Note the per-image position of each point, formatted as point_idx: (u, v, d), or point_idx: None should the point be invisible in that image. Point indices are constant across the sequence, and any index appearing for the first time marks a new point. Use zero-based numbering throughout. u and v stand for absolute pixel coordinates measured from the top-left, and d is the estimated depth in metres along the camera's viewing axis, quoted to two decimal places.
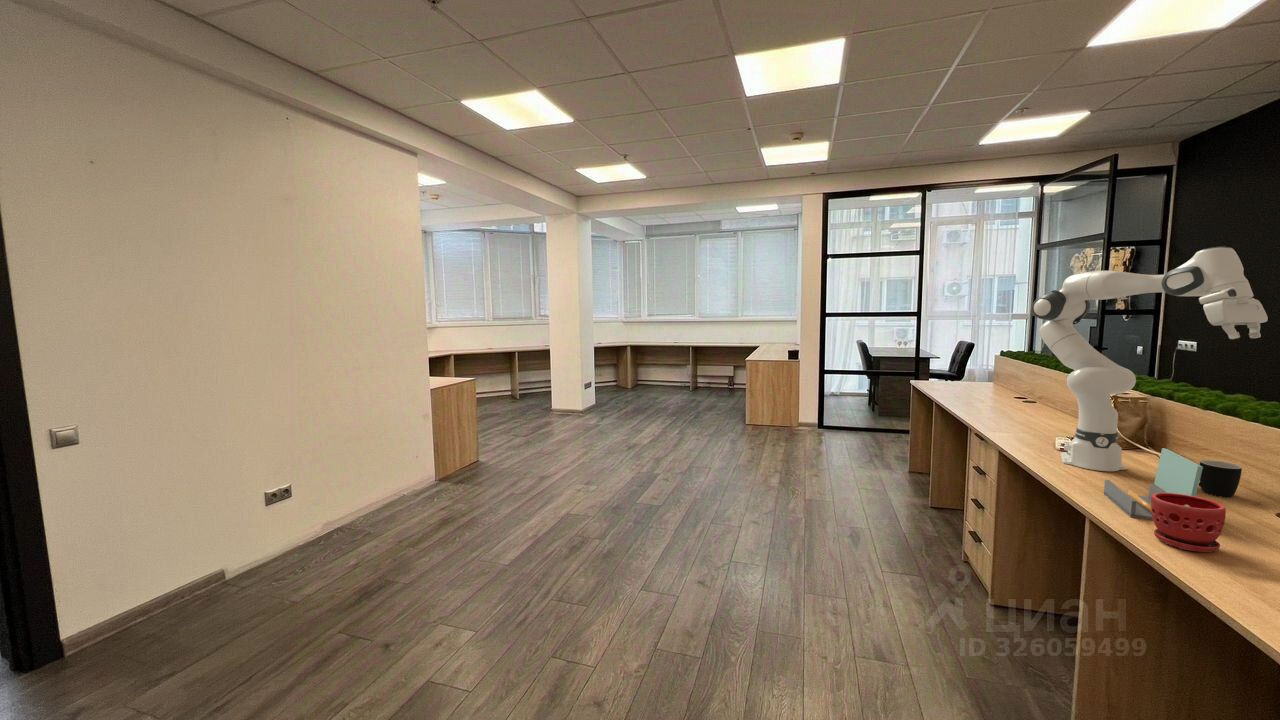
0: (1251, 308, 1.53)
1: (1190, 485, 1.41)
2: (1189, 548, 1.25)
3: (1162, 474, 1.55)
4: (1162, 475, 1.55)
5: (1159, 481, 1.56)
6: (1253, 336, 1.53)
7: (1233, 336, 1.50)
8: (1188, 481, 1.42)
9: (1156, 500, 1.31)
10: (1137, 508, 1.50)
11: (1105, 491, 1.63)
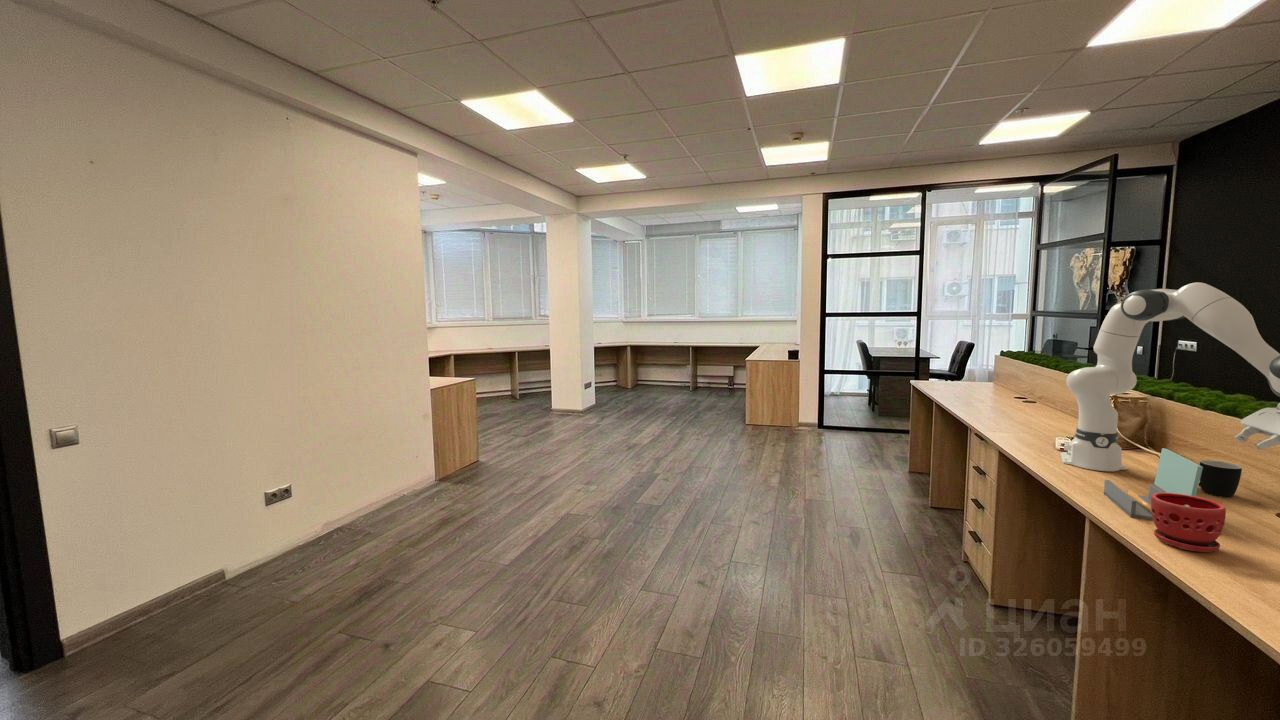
0: None
1: (1190, 485, 1.41)
2: (1189, 548, 1.25)
3: (1162, 474, 1.55)
4: (1162, 475, 1.55)
5: (1159, 481, 1.56)
6: (1241, 439, 1.45)
7: (1263, 447, 1.37)
8: (1188, 481, 1.42)
9: (1156, 500, 1.31)
10: (1137, 508, 1.50)
11: (1105, 491, 1.63)
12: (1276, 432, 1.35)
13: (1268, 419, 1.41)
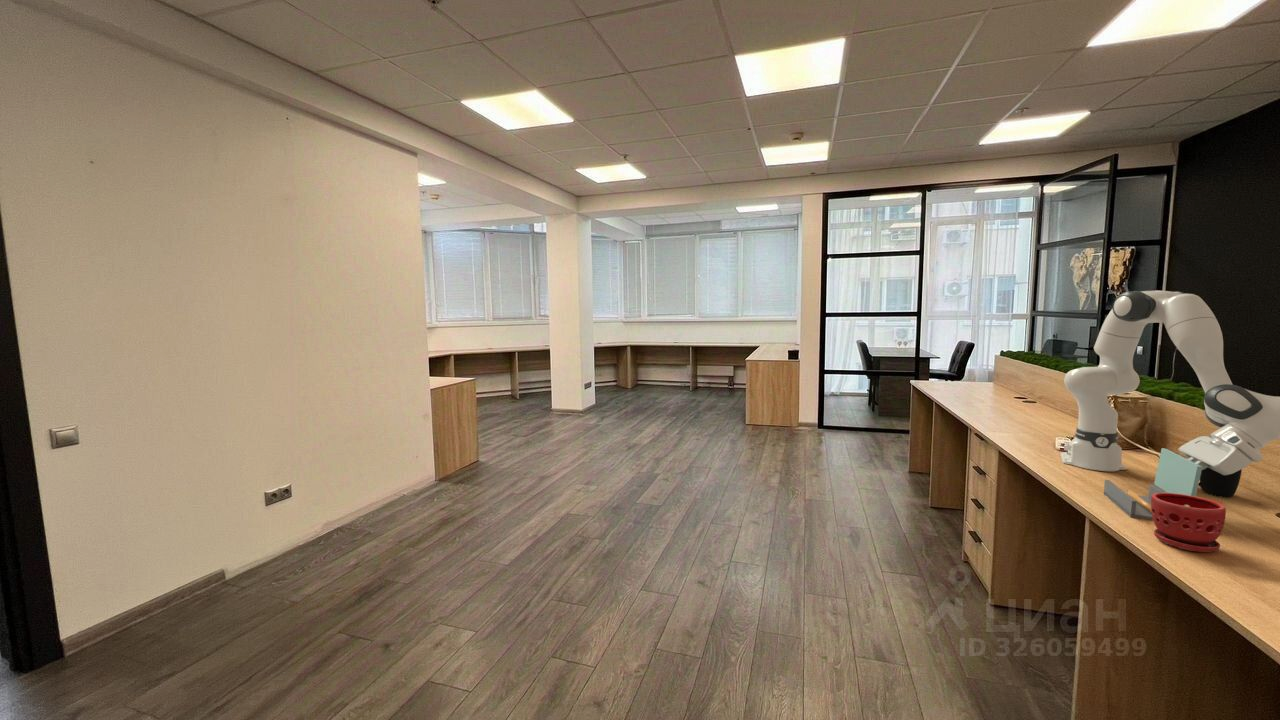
0: None
1: (1190, 485, 1.41)
2: (1189, 548, 1.25)
3: (1162, 474, 1.55)
4: (1161, 475, 1.55)
5: (1159, 481, 1.56)
6: None
7: None
8: (1188, 481, 1.42)
9: (1156, 500, 1.31)
10: (1137, 508, 1.50)
11: (1105, 491, 1.63)
12: (1207, 462, 1.41)
13: (1202, 448, 1.47)
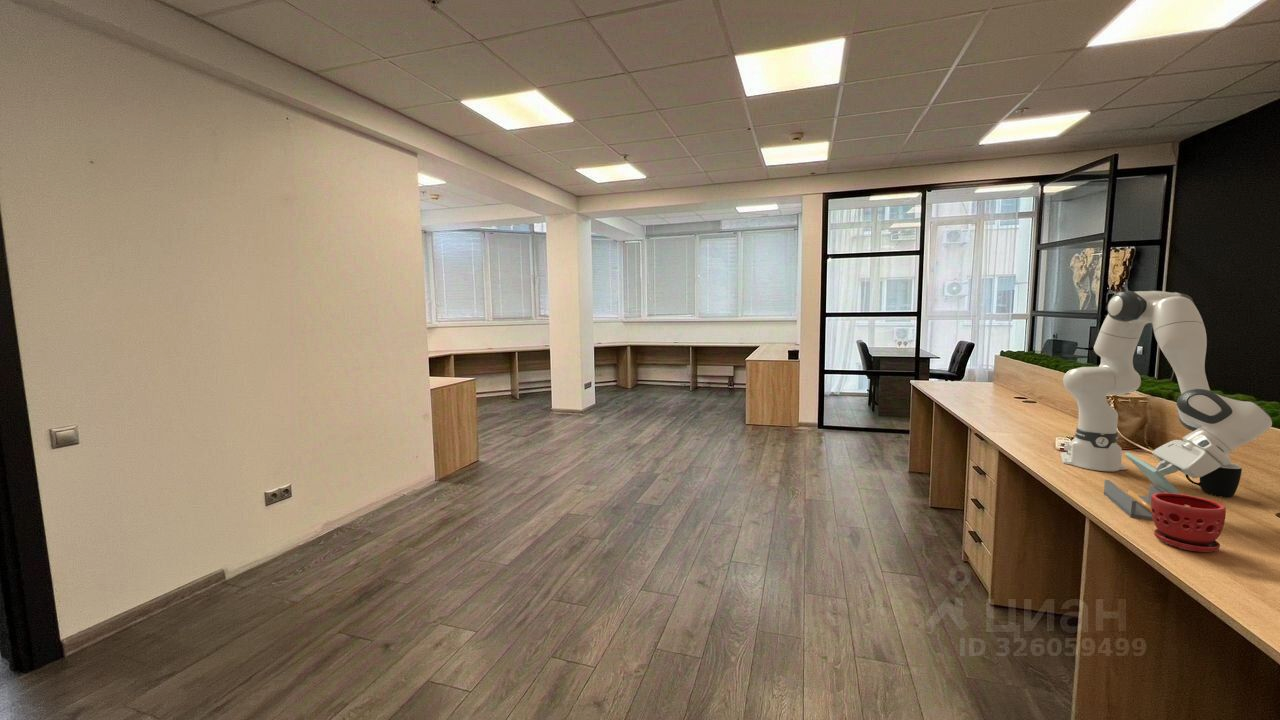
0: None
1: (1169, 488, 1.43)
2: (1189, 548, 1.25)
3: (1148, 476, 1.56)
4: (1148, 476, 1.56)
5: (1153, 482, 1.57)
6: None
7: None
8: (1164, 484, 1.45)
9: (1156, 500, 1.31)
10: (1137, 508, 1.50)
11: (1105, 491, 1.63)
12: (1178, 465, 1.44)
13: (1174, 451, 1.50)
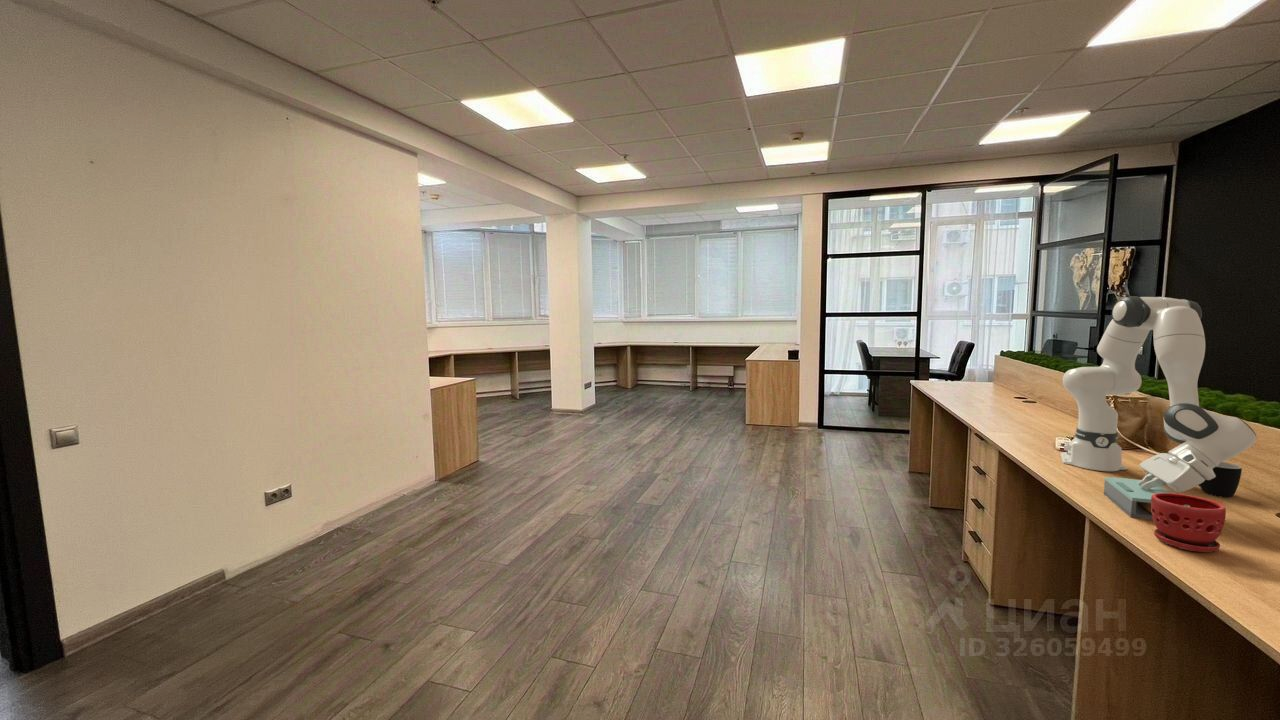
0: None
1: None
2: (1189, 548, 1.25)
3: None
4: None
5: None
6: None
7: (1146, 488, 1.51)
8: None
9: (1156, 500, 1.31)
10: (1137, 508, 1.50)
11: (1105, 491, 1.63)
12: (1163, 479, 1.45)
13: (1160, 465, 1.51)
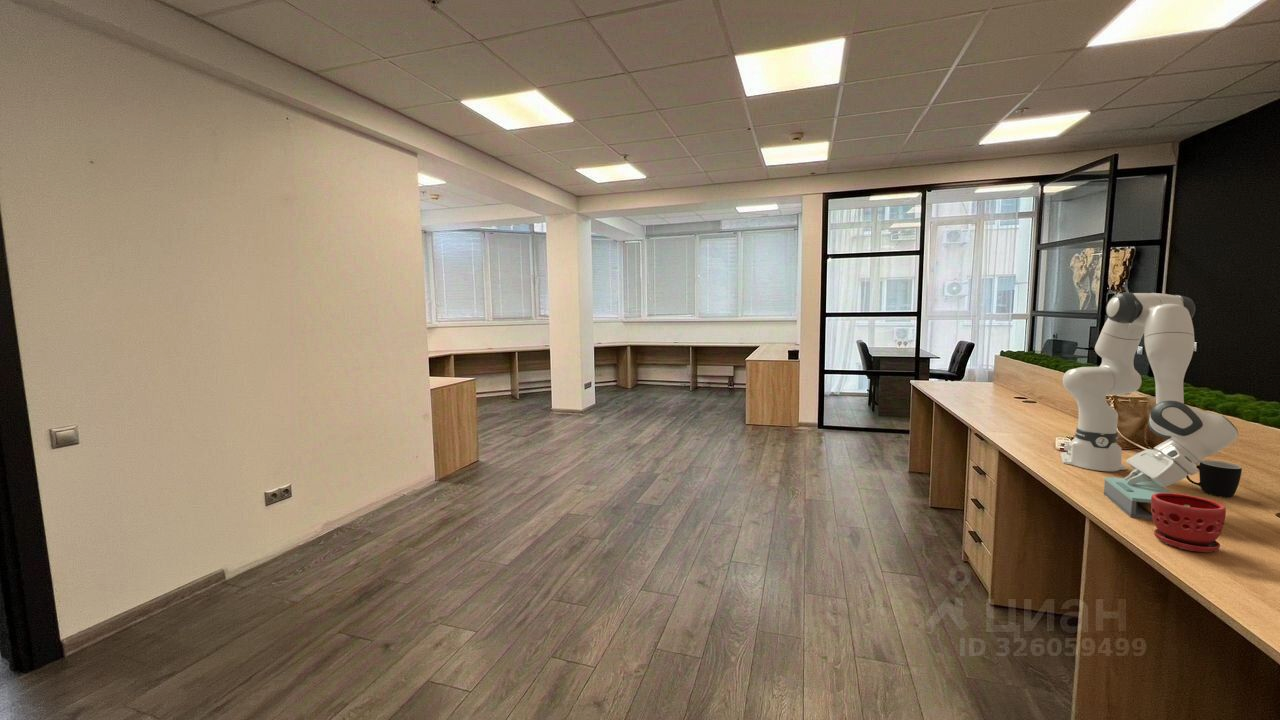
0: None
1: None
2: (1189, 548, 1.25)
3: None
4: None
5: None
6: None
7: (1132, 482, 1.55)
8: None
9: (1156, 500, 1.31)
10: (1137, 508, 1.50)
11: (1105, 491, 1.63)
12: (1148, 474, 1.50)
13: (1146, 460, 1.56)
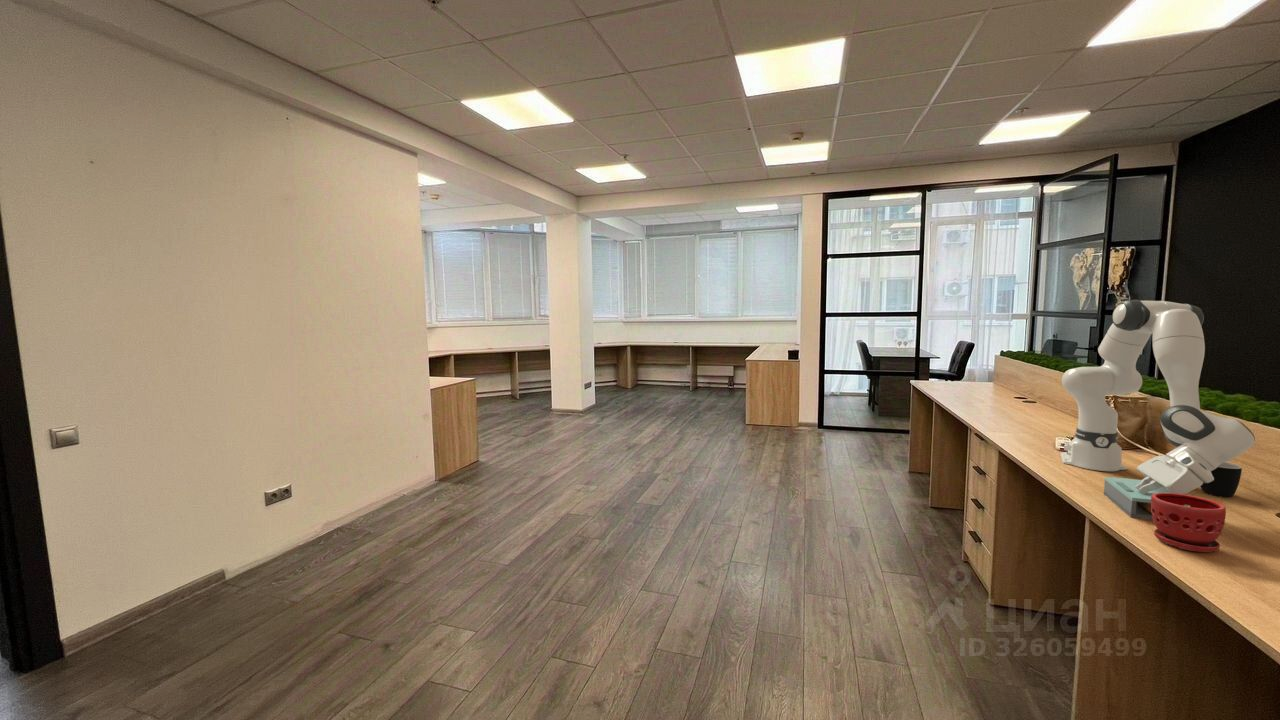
0: None
1: None
2: (1189, 548, 1.25)
3: None
4: None
5: None
6: None
7: (1143, 491, 1.48)
8: None
9: (1156, 500, 1.31)
10: (1137, 508, 1.50)
11: (1105, 491, 1.63)
12: (1161, 482, 1.43)
13: (1158, 468, 1.49)
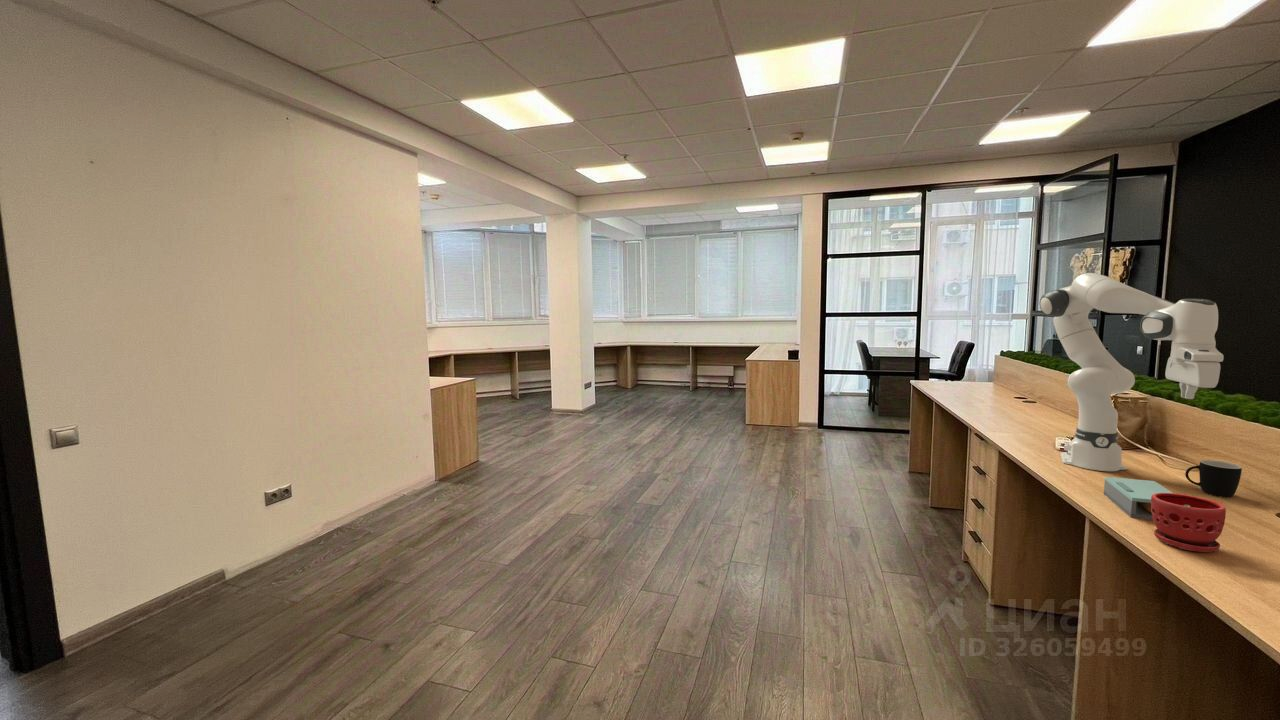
0: None
1: None
2: (1189, 548, 1.25)
3: None
4: None
5: None
6: None
7: (1191, 397, 1.49)
8: None
9: (1156, 500, 1.31)
10: (1137, 508, 1.50)
11: (1105, 491, 1.63)
12: (1192, 384, 1.45)
13: (1178, 370, 1.52)
